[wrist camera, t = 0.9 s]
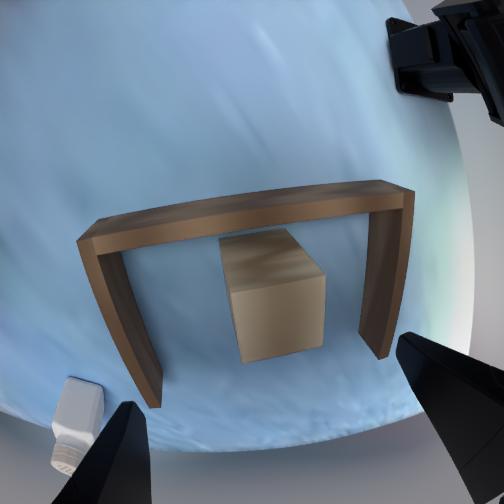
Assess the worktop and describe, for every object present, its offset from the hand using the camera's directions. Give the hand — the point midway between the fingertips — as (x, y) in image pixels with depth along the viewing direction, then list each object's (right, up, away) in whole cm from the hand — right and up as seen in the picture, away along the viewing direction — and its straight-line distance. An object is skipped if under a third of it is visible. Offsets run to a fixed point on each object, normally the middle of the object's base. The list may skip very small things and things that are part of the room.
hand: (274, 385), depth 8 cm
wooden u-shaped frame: (0, +1, +13) cm, 13 cm away
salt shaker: (-17, -10, +14) cm, 24 cm away
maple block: (0, +3, +12) cm, 12 cm away
